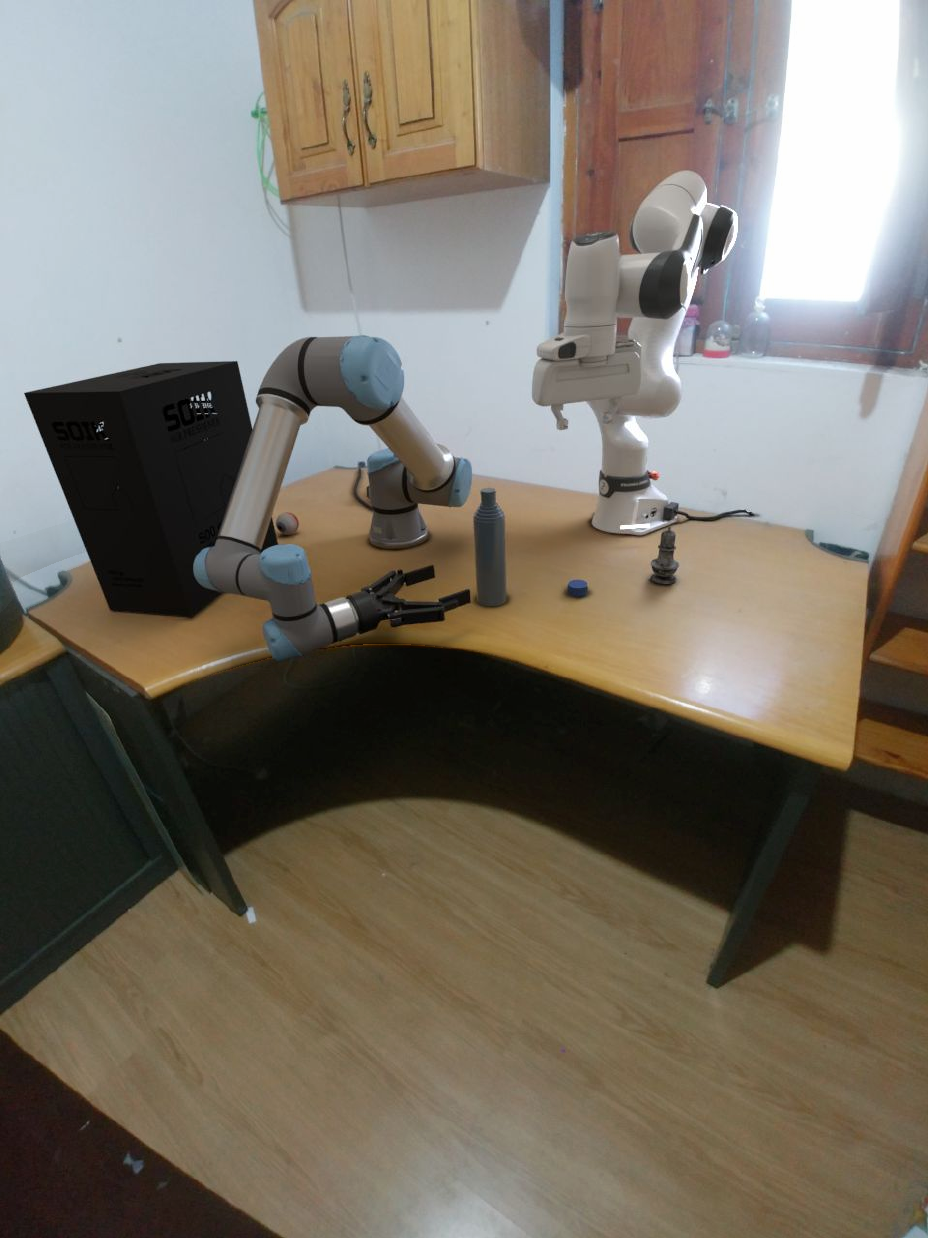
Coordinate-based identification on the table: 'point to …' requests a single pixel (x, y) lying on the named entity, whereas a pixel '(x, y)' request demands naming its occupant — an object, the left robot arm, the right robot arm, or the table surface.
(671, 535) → the grey tapered ringed piece
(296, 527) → the eyeball
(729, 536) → the table surface
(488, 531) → the bottle
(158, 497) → the cardboard box
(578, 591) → the cap
